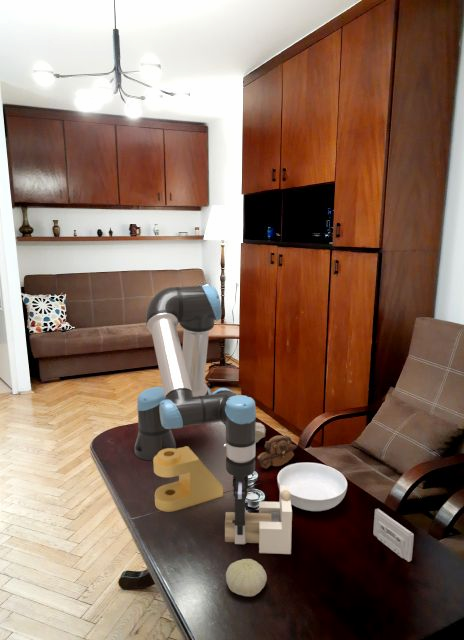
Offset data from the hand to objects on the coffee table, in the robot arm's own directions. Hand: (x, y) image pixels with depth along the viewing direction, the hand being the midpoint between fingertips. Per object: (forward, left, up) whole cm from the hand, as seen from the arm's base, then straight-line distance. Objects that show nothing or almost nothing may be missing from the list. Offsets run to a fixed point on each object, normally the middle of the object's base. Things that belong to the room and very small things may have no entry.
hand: (240, 536), depth 119 cm
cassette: (+2, +39, -1) cm, 39 cm away
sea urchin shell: (+17, -1, -1) cm, 17 cm away
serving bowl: (-18, +21, -1) cm, 28 cm away
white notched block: (0, +9, 0) cm, 9 cm away
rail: (0, +3, 0) cm, 3 cm away
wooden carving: (-38, +12, -1) cm, 40 cm away
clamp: (-17, -17, -1) cm, 24 cm away
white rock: (-52, +3, 0) cm, 52 cm away
